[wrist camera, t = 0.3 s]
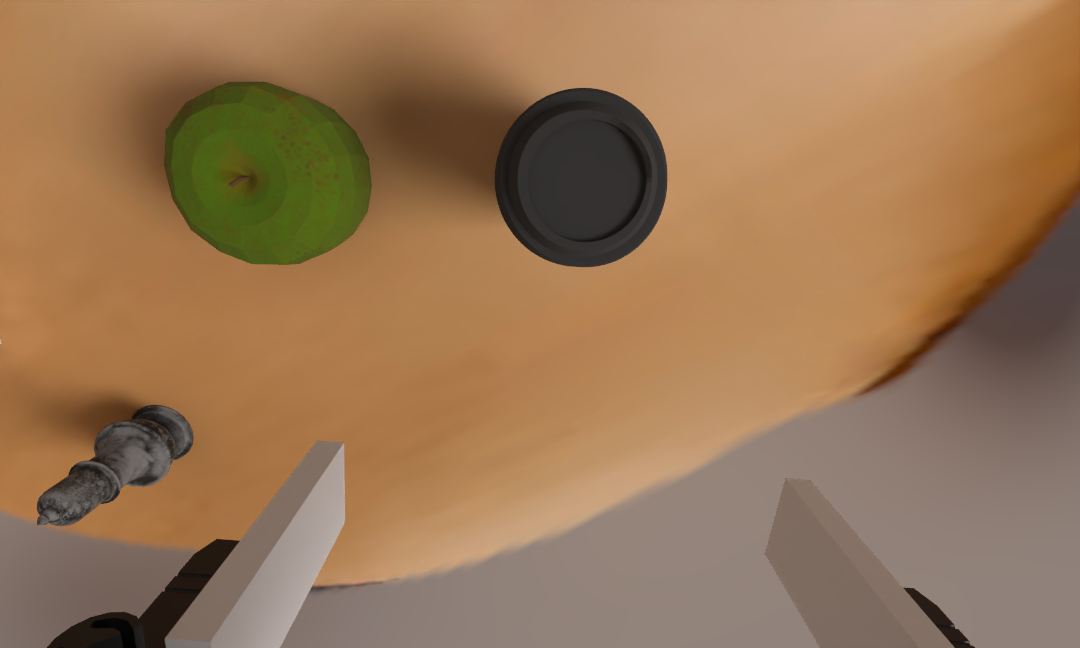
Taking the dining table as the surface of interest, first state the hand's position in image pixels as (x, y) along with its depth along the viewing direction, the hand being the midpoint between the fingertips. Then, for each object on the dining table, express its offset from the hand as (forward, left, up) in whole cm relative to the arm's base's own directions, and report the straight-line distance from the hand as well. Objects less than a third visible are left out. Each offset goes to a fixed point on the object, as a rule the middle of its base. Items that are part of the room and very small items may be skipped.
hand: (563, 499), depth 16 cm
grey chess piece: (+15, -32, -28) cm, 45 cm away
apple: (-7, -18, -28) cm, 34 cm away
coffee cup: (-9, +1, -28) cm, 29 cm away
